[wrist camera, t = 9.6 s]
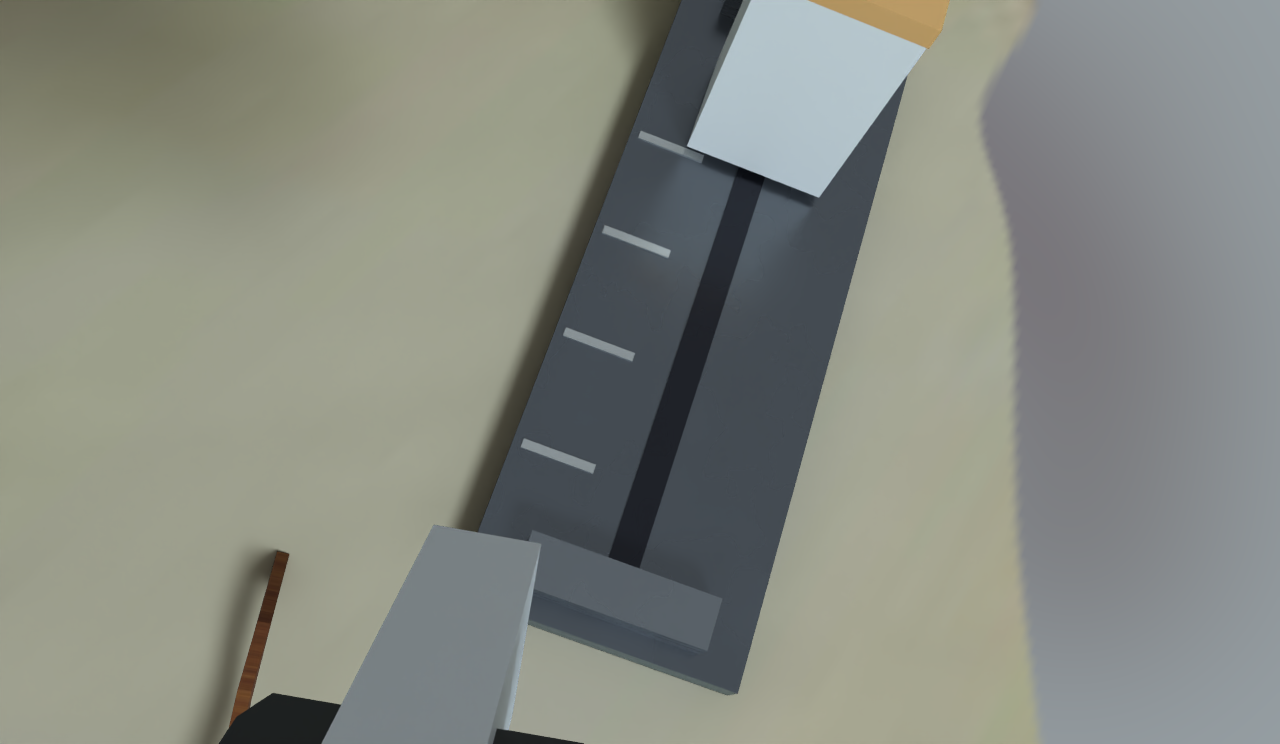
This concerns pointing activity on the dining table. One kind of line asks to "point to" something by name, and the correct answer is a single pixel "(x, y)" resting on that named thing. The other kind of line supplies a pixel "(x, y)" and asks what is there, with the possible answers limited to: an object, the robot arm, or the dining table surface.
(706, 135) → the fader knob
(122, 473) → the dining table surface
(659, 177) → the board
